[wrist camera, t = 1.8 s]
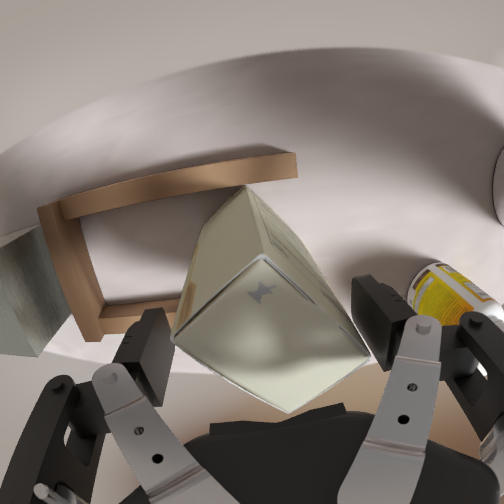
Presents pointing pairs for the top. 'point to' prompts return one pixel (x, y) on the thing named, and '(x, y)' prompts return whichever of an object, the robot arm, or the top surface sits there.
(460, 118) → the top surface
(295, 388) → the skincare box
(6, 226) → the top surface
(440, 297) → the supplement bottle
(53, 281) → the cabinet
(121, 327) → the rail
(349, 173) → the top surface
